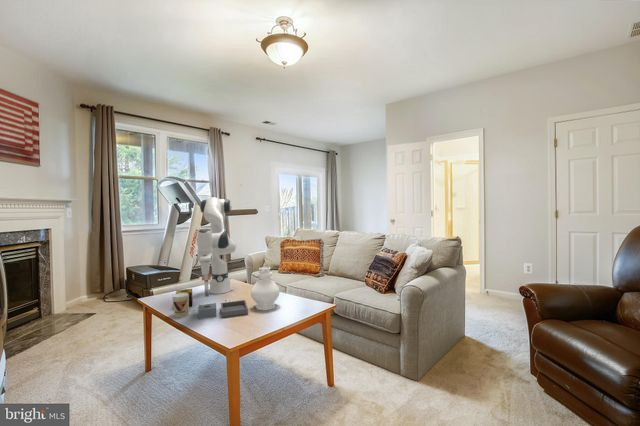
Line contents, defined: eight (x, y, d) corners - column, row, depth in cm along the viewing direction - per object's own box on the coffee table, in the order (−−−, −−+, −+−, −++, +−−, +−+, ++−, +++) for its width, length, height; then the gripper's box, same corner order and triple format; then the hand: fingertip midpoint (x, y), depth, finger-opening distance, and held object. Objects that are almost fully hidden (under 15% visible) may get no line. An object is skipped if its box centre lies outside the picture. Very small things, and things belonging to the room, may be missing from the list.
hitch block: (199, 313, 187) (198, 305, 186) (216, 311, 190) (216, 303, 190) (198, 318, 177) (197, 310, 177) (216, 316, 180) (216, 308, 180)
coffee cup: (171, 318, 180) (170, 297, 179) (175, 312, 189) (174, 293, 189) (188, 316, 182) (187, 296, 181) (191, 311, 191) (190, 292, 190)
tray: (221, 308, 195) (221, 302, 194) (245, 305, 199) (245, 300, 199) (221, 318, 178) (221, 312, 177) (248, 314, 182) (247, 308, 182)
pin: (202, 296, 184) (201, 275, 183) (211, 295, 185) (210, 274, 185) (202, 297, 181) (201, 276, 181) (211, 296, 183) (210, 275, 183)
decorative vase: (274, 312, 185) (272, 271, 184) (246, 310, 189) (245, 270, 188) (283, 302, 203) (282, 265, 202) (258, 301, 206) (257, 265, 205)
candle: (175, 309, 195) (174, 294, 194) (176, 304, 204) (175, 290, 204) (192, 307, 199) (192, 291, 198) (192, 302, 208) (192, 288, 208)
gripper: (200, 253, 191) (201, 275, 192) (198, 259, 172) (199, 283, 172) (211, 253, 193) (212, 274, 194) (210, 258, 174) (211, 282, 174)
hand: (206, 279), depth 183 cm, fingers closed on pin, 2 cm apart
